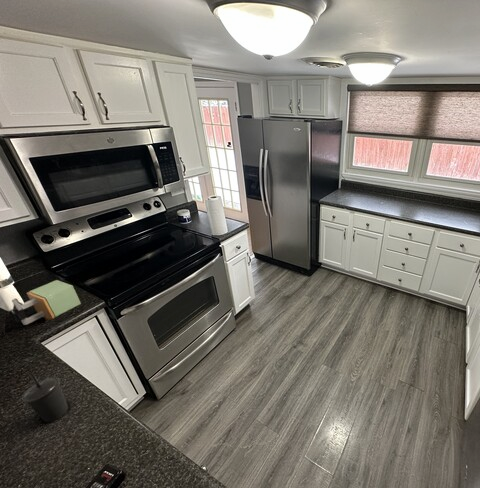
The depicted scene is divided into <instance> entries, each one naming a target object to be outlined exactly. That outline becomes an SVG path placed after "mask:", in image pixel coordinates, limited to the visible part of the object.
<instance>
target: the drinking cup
mask: <svg viewBox="0 0 480 488" xmlns="http://www.w3.org/2000/svg"><path fill="white" fill-rule="evenodd" d="M28 375H29V376H30V378H31V380H32V381H33V382H34V384H33V385H32V386H30V387H29V388H27V390H25V391H24V393H23V394H22V395H21V396H22V397H21V400H22V401H23V403H26V404H27V405H28V406H29V407H30V408H31V409H32V410H33V411H34V412H35V413H36V414H37V415H38V416H39V417H40V418H41V419H42V420H43V421H44V422H46V423H50V422H54V421H57V420H59V418H61V417H62V416H63V415H65V414H66V413H67V411H68V409H69V405H68V402H67V399H66V397H65V395H64V392H63V390H62V387H61V385H60V379H59V378H57V377H48V378H45V379H43V380H40V381H39V380H38V379H37V377H36V375H35V374H34V373H33V371H31V372H29V373H28Z"/></svg>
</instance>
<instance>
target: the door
mask: <svg viewBox="0 0 480 488" xmlns="http://www.w3.org/2000/svg"><path fill="white" fill-rule="evenodd" d="M26 295H27V297H28V299H29V300H27V301H25V302H24V304H23V305H21V307H22V308H23V310H25V309H28V308H30V307H32V306H33V307H34V309H35V311H36V313H35V314H32V315H31V316H29V317H28V316H27V318H25V319H23V320H21V321H20V322H21V323H22V325H23V326H27V325H29V324H31V323H33V322H35V321H37V320H39V319H41V318H44V319H47V320H49V321H50V320H52V319H55V318H56V317H55V316H54V314H53V313H52V311H51V309H50V307H49V305H48V303H47V301H46V299H45V298H42V297H40V296H37V295H35V294H32V293H30V292H29V291H28V292H26ZM15 309H16V308H15ZM15 309H14V310H15Z"/></svg>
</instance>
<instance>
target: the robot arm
mask: <svg viewBox="0 0 480 488" xmlns="http://www.w3.org/2000/svg"><path fill="white" fill-rule="evenodd" d="M14 284H15V280H14V278H13V277H12V275H11V274H10V272H9V270H8V268H7V266H6V265H5V263H4V261H3V259H2V257H0V309H1V310H5V311H7V312H8V314H9V316H10V317H11V319H12V320H13V321H16V322H17V323H19V322H21V320H23V319H25V318H28V316H27V314H26V312H25V309H23V308H22V307H21V305H23V304H24V303H25V302H24V300H23V298H22V297H21V295H20V294H19V292H18V291H17V289H16V287H15V286H14ZM15 308H16V309H15ZM14 309H15V310H14Z"/></svg>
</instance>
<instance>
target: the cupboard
mask: <svg viewBox="0 0 480 488" xmlns="http://www.w3.org/2000/svg"><path fill="white" fill-rule="evenodd" d="M28 292H30V293H32V294H35V295H37V296H40V297H42V298H45V299H46V301H47V303H48V305H49V307H50V309H51V311H52V313H53V314H54V316H55V317H54V318H56V317H58V316H60V315H62V314H65V313H66V312H68V311H70V310H72V309H74V308H75V307H77V306H79V305H81V304H82V303H81V300H80V298H79V296H78V294H77V292H76V290H75V287H74V286H73V285H72V284H69V283H66V282H63V281H61V280H58V279H55V280H53V281H51V282H49V283H45V284H43V285H41V286H39V287H36V288H34V289H32V290H29V291H28Z"/></svg>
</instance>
